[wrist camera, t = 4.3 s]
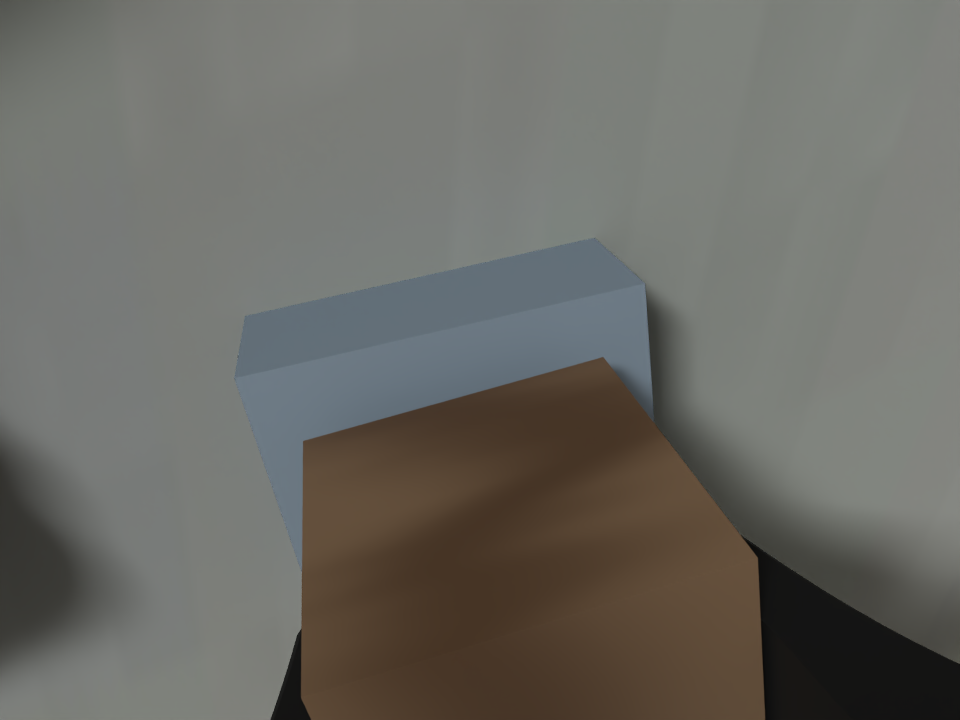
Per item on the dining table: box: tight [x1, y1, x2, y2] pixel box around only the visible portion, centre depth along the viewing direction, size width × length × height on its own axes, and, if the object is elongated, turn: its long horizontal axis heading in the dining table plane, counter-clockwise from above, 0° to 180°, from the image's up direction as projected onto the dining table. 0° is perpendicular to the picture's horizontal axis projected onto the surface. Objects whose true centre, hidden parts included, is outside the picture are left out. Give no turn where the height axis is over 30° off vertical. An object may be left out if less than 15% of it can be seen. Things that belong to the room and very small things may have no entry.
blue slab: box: [234, 238, 654, 571], centre depth 16 cm, size 7×7×3 cm
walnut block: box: [301, 357, 765, 720], centre depth 12 cm, size 5×5×5 cm
